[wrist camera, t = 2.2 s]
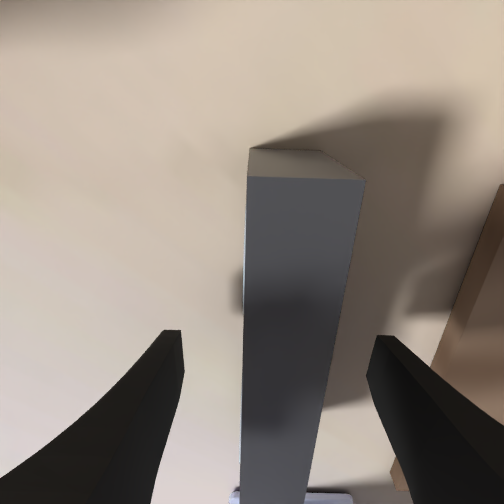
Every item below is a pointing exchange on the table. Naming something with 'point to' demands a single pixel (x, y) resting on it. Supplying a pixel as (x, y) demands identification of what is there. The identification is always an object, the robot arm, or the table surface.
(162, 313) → the table surface
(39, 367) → the table surface
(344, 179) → the long gray beam
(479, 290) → the display stand
